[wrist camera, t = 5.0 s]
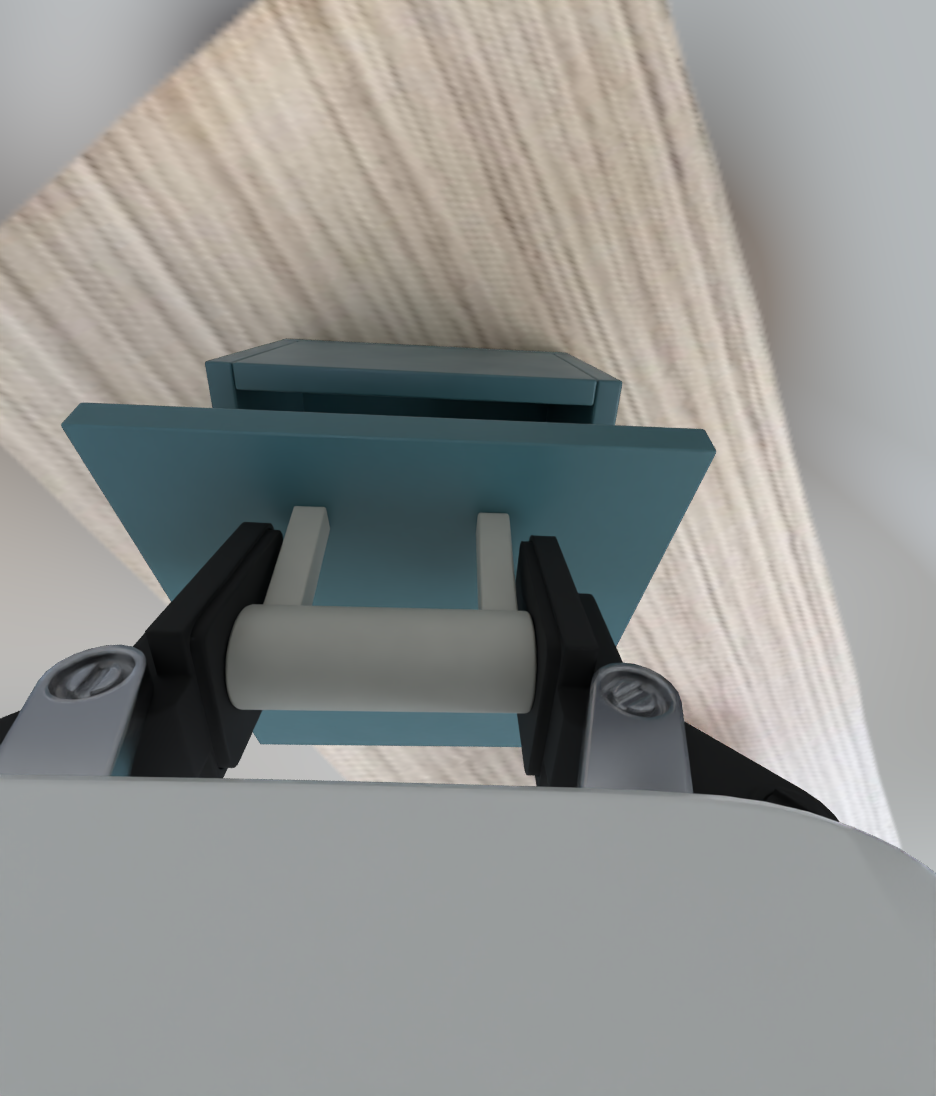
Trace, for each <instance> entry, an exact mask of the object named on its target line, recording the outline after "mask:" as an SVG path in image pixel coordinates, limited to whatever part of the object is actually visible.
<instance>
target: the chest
mask: <svg viewBox="0 0 936 1096" xmlns="http://www.w3.org/2000/svg"><path fill="white" fill-rule="evenodd" d="M205 367H206V372H207V378H208V384H209V390H210V396H211V402H212V408H222V409H245V410H268V411H292V412H315V413H338V414H362V415H385V416H408V417H431V418H455V419H478V420H501V421H525V422H548V423H571V424H594V425H615V422H616V416H617V410H618V405H619V399H620V394H621V388H622V381H620V380H618V379H616V378H614V377H612V376H610V375H609V374H607V373H605V372H603V371H601V370H599V369H597V368H595V367H593V366H591V365H589V364H587V363H585V362H583V361H581V360H580V359H578V358H576V357H574V356H572V355H570V354H568V353H564V352H544V351H524V350H504V349H484V348H464V347H444V346H424V345H404V344H384V343H364V342H344V341H324V340H304V339H283V340H280V341H276V342H272V343H269V344H265V345H262V346H258V347H255V348H251V349H248V350H244V351H241V352H237V353H234V354H230V355H226V356H223V357H219V358H216V359H212V360H209V361H206V362H205Z"/></svg>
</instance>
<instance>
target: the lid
mask: <svg viewBox="0 0 936 1096" xmlns="http://www.w3.org/2000/svg"><path fill="white" fill-rule="evenodd" d="M61 426H62V428H63V430H64V431H65V433H66V435H67V436H68V438H69V439H70V441H71V443H72V444H73V446H74V447H75V449H76V451H77V452H78V454H79V455H80V457H81V459H82V460H83V462H84V463H85V465H86V467H87V468H88V470H89V471H90V473H91V475H92V476H93V478H94V479H95V481H96V483H97V484H98V486H99V487H100V489H101V491H102V492H103V494H104V495H105V497H106V498H107V500H108V502H109V503H110V505H111V506H112V508H113V510H114V511H115V513H116V514H117V516H118V518H119V519H120V521H121V522H122V524H123V526H124V527H125V529H126V530H127V532H128V534H129V535H130V537H131V538H132V540H133V542H134V543H135V545H136V546H137V548H138V550H139V551H140V553H141V554H142V556H143V558H144V559H145V561H146V562H147V564H148V566H149V567H150V569H151V570H152V572H153V574H154V575H155V577H156V578H157V580H158V582H159V583H160V585H161V586H162V588H163V589H164V591H165V593H166V594H167V596H168V597H169V599H170V601H171V602H172V601H173V600H174V598H175V597H176V596H177V595H178V594H179V593H180V592H181V591H182V589H183V588H184V587H185V586H186V585H187V584H188V583H189V582H190V581H191V579H192V578H193V577H194V576H195V575H196V574H197V573H198V572H199V570H200V569H201V568H202V567H203V566H204V565H205V564H206V563H207V562H208V560H209V559H210V558H211V557H212V556H213V555H214V554H215V553H216V551H217V550H218V549H219V548H220V547H221V546H222V545H223V544H224V543H225V541H226V540H227V539H228V538H229V537H230V536H231V535H232V534H233V532H234V531H235V530H236V529H237V528H238V527H239V526H240V525H241V524H242V523H243V522H258V523H271V524H272V525H273V527H274V530H280V531H281V532H282V535H283V543H282V546H281V549H280V553H279V556H278V559H277V562H276V565H275V568H274V572H273V575H272V578H271V581H270V584H269V587H268V591H267V594H266V597H265V600H264V603H263V605H262V604H252V605H249V606H246V607H245V608H244V609H243V610H242V611H241V612H240V613H239V615H238V617H237V618H236V621H235V623H234V625H233V628H232V631H231V634H230V638H229V642H228V647H227V654H226V665H225V678H226V687H227V692H228V696H229V699H230V701H231V703H232V704H233V705H234V706H235V707H236V708H238V709H241V710H262V712H261V715H260V717H259V719H258V721H257V723H256V726H255V728H254V730H253V733H254V735H255V736H256V738H257V740H258V741H259V743H260V744H289V745H291V744H292V745H293V744H294V745H382V746H478V747H521V740H520V733H519V726H518V718H517V713H528V712H530V710H531V708H532V705H533V701H534V697H535V689H536V676H537V652H536V638H535V630H534V625H533V621H532V618H531V616H530V614H529V613H528V612H527V611H518V605H517V594H516V583H515V581H516V573H517V565H518V557H519V548H520V543H521V541H529V538H530V536H531V535H536V536H555V537H556V538H557V541H558V543H559V546H560V548H561V551H562V553H563V556H564V558H565V561H566V564H567V566H568V569H569V571H570V574H571V576H572V579H573V581H574V584H575V587H576V589H577V592H578V593H585V594H592V595H593V597H594V598H595V600H596V603H597V605H598V607H599V609H600V612H601V614H602V616H603V619H604V621H605V623H606V625H607V628H608V630H609V632H610V635H611V637H612V639H613V641H614V644H615V646H617V644H618V642H619V640H620V638H621V636H622V635H623V633H624V631H625V629H626V627H627V625H628V623H629V621H630V619H631V617H632V615H633V613H634V611H635V609H636V607H637V605H638V603H639V602H640V600H641V598H642V596H643V594H644V592H645V590H646V588H647V586H648V584H649V582H650V580H651V578H652V576H653V574H654V572H655V570H656V569H657V567H658V565H659V563H660V561H661V559H662V557H663V555H664V553H665V551H666V549H667V547H668V545H669V543H670V541H671V539H672V537H673V536H674V534H675V532H676V530H677V528H678V526H679V524H680V522H681V520H682V518H683V516H684V514H685V512H686V510H687V508H688V506H689V504H690V503H691V501H692V499H693V497H694V495H695V493H696V491H697V489H698V487H699V485H700V483H701V481H702V479H703V477H704V475H705V473H706V471H707V470H708V468H709V466H710V464H711V462H712V460H713V458H714V456H715V454H716V449H715V448H714V446H713V444H712V442H711V440H710V439H709V437H708V435H707V433H706V431H705V430H703V429H688V428H664V427H641V426H618V425H594V424H571V423H548V422H525V421H501V420H478V419H455V418H431V417H408V416H385V415H362V414H338V413H315V412H292V411H268V410H245V409H222V408H199V407H175V406H152V405H129V404H105V403H80V404H79V405H78V406H77V407H76V408H75V409H74V411H73V412H72V413H71V414H70V415H69V416H68V417H67V418H66V419H65V420H64V422H63V423H62V424H61Z"/></svg>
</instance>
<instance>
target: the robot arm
mask: <svg viewBox="0 0 936 1096" xmlns="http://www.w3.org/2000/svg"><path fill="white" fill-rule="evenodd" d="M282 543H283V535H282V532H281V531H280V530H274V527H273V525H272V524H271V523H258V522H243V523H242V524H241V525H240V526H239V527H238V528H237V529H236V530H235V531H234V532H233V534H232V535H231V536H230V537H229V538H228V539H227V540H226V541H225V543H224V544H223V545H222V546H221V547H220V548H219V549H218V550H217V551H216V553H215V554H214V555H213V556H212V557H211V558H210V559H209V560H208V562H207V563H206V564H205V565H204V566H203V567H202V568H201V569H200V570H199V572H198V573H197V574H196V575H195V576H194V577H193V578H192V579H191V581H190V582H189V583H188V584H187V585H186V586H185V587H184V588H183V589H182V591H181V592H180V593H179V594H178V595H177V596H176V597H175V598H174V600H173V601H172V602H171V603H170V604H169V605H168V606H167V607H166V609H165V610H164V611H163V612H162V613H161V614H160V615H159V616H158V617H157V619H156V620H155V621H154V622H153V623H152V624H151V625H150V626H149V627H148V629H147V630H146V631H145V633H144V635H143V636H142V637H141V638H140V639H139V640H138V642H136V644H135V645H134V646H133V647H132V646H125V645H106V646H101V647H96V648H91V649H88V650H85V651H82V652H79V653H76V654H74V655H72V656H70V657H68V658H66V659H64V660H62V661H60V662H58V663H57V664H55V665H54V666H53V667H52V668H50V669H49V670H48V671H46V672H45V673H44V675H43V676H42V677H41V678H40V679H39V681H38V682H37V684H36V686H35V687H34V689H33V691H32V692H31V694H30V696H29V697H28V699H27V701H26V702H25V704H24V706H23V707H22V709H21V710H20V711H18V712H15V713H13V714H10V715H8V716H5V717H3V718H0V1096H936V873H935V872H934V871H933V870H931V869H930V868H929V867H928V866H926V865H925V864H923V863H922V862H920V861H918V860H917V859H915V858H914V857H912V856H911V855H909V854H907V853H906V852H905V851H903V850H901V849H899V848H897V847H895V846H893V845H891V844H889V843H887V842H885V841H883V840H881V839H879V838H877V837H875V836H873V835H870V834H868V833H866V832H863V831H861V830H859V829H856V828H854V827H851V826H848V825H845V824H843V823H840V822H839V821H838V819H837V818H836V816H835V815H834V814H833V813H832V812H831V811H830V810H829V809H828V808H827V807H826V806H824V805H823V804H822V803H821V802H820V801H819V800H817V799H816V798H814V797H813V796H811V795H810V794H808V793H807V792H806V791H804V790H802V789H801V788H799V787H797V786H795V785H794V784H792V783H790V782H788V781H787V780H785V779H783V778H781V777H780V776H778V775H776V774H775V773H773V772H771V771H769V770H768V769H766V768H764V767H762V766H761V765H759V764H757V763H755V762H754V761H752V760H750V759H748V758H747V757H745V756H743V755H742V754H740V753H738V752H736V751H735V750H733V749H731V748H729V747H728V746H726V745H724V744H722V743H721V742H719V741H717V740H716V739H714V738H712V737H710V736H709V735H707V734H705V733H703V732H702V731H700V730H698V729H696V728H695V727H693V726H691V725H689V724H688V723H686V722H684V717H683V710H682V702H681V699H680V696H679V693H678V692H677V690H676V689H675V688H674V686H673V685H672V684H671V683H670V682H669V681H668V680H667V679H665V678H664V677H663V676H661V675H660V674H658V673H656V672H654V671H652V670H651V669H649V668H646V667H642V666H639V665H636V664H630V663H623V662H622V660H621V658H620V655H619V653H618V651H617V648H616V646H615V644H614V641H613V639H612V637H611V635H610V632H609V630H608V628H607V625H606V623H605V621H604V619H603V616H602V614H601V612H600V609H599V607H598V605H597V603H596V600H595V598H594V597H593V595H592V594H585V593H578V592H577V589H576V587H575V584H574V581H573V579H572V576H571V574H570V571H569V569H568V566H567V564H566V561H565V558H564V556H563V553H562V551H561V548H560V546H559V543H558V541H557V538H556V537H555V536H536V535H531V536H530V538H529V541H521V543H520V548H519V557H518V565H517V573H516V581H515V583H516V594H517V605H518V611H527V612H528V613H529V614H530V616H531V618H532V621H533V625H534V630H535V638H536V652H537V676H536V689H535V697H534V701H533V705H532V708H531V710H530V712H528V713H517V718H518V726H519V733H520V740H521V747H522V754H523V762H524V769H525V773H526V775H535V779H536V785H537V787H535V786H502V785H468V784H435V783H397V782H357V781H317V780H316V781H315V780H273V779H230V778H229V779H228V778H226V779H225V778H223V777H224V775H225V773H226V771H227V769H228V768H234V767H236V765H238V763H239V761H240V759H241V756H242V754H243V752H244V750H245V748H246V746H247V743H248V741H249V739H250V737H251V735H252V732H253V730H254V728H255V726H256V723H257V721H258V719H259V717H260V715H261V712H262V710H241V709H238V708H236V707H235V706H234V705H233V704H232V703H231V701H230V699H229V696H228V692H227V687H226V678H225V665H226V654H227V647H228V642H229V638H230V634H231V631H232V628H233V625H234V623H235V621H236V618H237V617H238V615H239V613H240V612H241V611H242V610H243V609H244V608H245V607H246V606H249V605H252V604H262V605H263V603H264V600H265V597H266V594H267V591H268V587H269V584H270V581H271V578H272V575H273V572H274V568H275V565H276V562H277V559H278V556H279V553H280V549H281V546H282Z"/></svg>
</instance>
